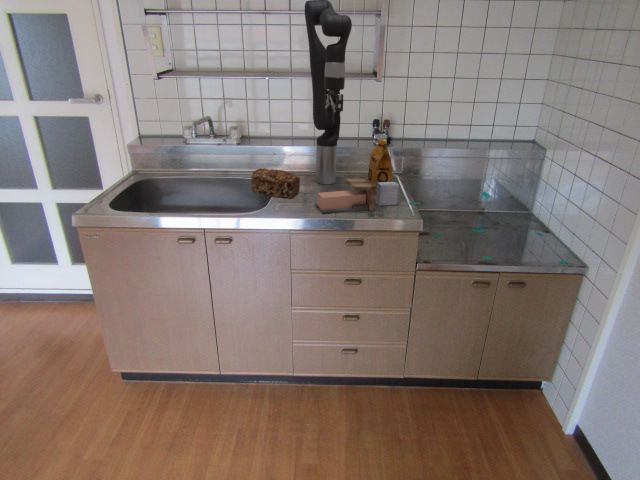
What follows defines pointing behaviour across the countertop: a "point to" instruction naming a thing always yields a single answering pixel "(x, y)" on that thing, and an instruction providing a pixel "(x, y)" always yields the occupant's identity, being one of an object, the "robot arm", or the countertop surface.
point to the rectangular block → (340, 199)
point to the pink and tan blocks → (357, 184)
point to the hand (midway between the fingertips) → (332, 120)
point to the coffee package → (380, 164)
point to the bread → (275, 183)
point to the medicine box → (387, 193)
